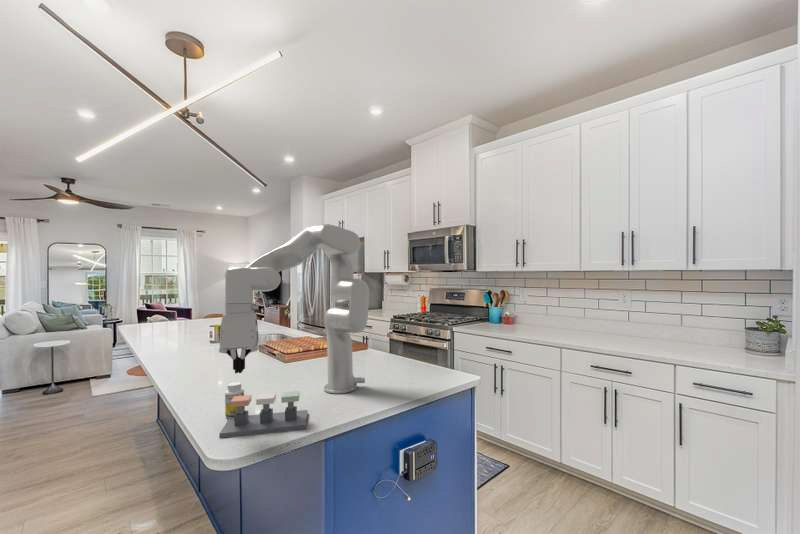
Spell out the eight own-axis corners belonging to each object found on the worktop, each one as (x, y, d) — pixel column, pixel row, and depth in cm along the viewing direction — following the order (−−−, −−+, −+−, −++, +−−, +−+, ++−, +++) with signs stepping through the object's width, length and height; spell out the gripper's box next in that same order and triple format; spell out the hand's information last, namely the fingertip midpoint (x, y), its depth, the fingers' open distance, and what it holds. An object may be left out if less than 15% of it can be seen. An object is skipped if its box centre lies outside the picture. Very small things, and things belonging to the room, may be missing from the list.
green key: (299, 405, 115) (299, 390, 115) (298, 411, 110) (298, 395, 110) (283, 407, 114) (283, 392, 114) (281, 413, 109) (281, 397, 109)
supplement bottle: (239, 411, 122) (238, 380, 122) (247, 415, 118) (247, 383, 118) (222, 416, 118) (221, 384, 118) (230, 421, 114) (229, 387, 114)
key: (251, 410, 112) (251, 394, 112) (248, 416, 107) (248, 400, 107) (234, 411, 111) (234, 396, 111) (230, 417, 106) (230, 401, 106)
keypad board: (307, 413, 119) (307, 400, 119) (305, 428, 107) (305, 414, 107) (230, 421, 114) (230, 407, 114) (219, 437, 102) (219, 422, 102)
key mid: (275, 408, 113) (275, 392, 113) (273, 413, 109) (273, 397, 109) (259, 409, 112) (259, 394, 112) (256, 415, 108) (256, 399, 108)
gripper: (267, 307, 115) (267, 367, 114) (215, 309, 112) (215, 370, 111) (264, 309, 107) (263, 373, 107) (207, 311, 104) (207, 377, 104)
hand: (239, 371), depth 109 cm, fingers closed
